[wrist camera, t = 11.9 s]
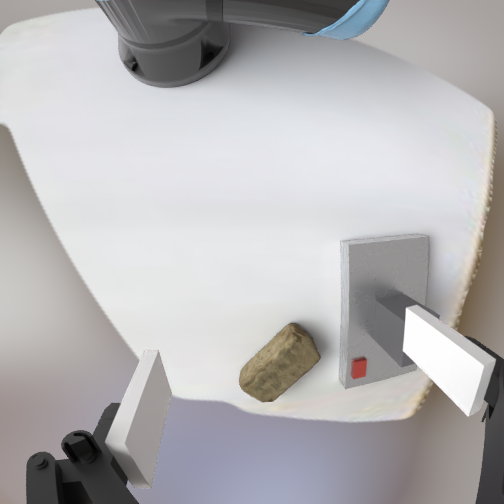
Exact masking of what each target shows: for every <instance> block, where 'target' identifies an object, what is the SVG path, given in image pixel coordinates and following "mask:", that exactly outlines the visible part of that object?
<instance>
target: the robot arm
mask: <svg viewBox="0 0 504 504" xmlns="http://www.w3.org/2000/svg"><path fill="white" fill-rule="evenodd" d="M95 1H96V2H97V3H98V5H99V6H100V8H101V9H102V11H103V12H104V13H105V15H106V16H107V18H108V19H109V20H110V22H111V23H112V25H113V26H114V27H115V29H116V30H117V31H118V49H119V55H120V58H121V61H122V63H123V64H124V66H125V67H126V69H127V70H128V71H129V72H130V74H131V75H132V76H133V77H135V78H136V79H137V80H139V81H141V82H143V83H145V84H147V85H151V86H155V87H177V86H182V85H186V84H189V83H192V82H194V81H197V80H199V79H201V78H202V77H204V76H206V75H207V74H209V73H210V72H211V71H212V70H213V69H215V68H216V67H217V66H218V64H219V63H220V62H221V61H222V59H223V58H224V56H225V54H226V52H227V50H228V47H229V42H230V25H229V23H233V24H244V25H254V26H262V27H270V28H276V29H283V30H289V31H295V32H300V33H302V34H303V35H306V36H322V37H328V38H333V39H338V40H346V39H349V38H353V37H357V36H359V35H361V34H362V33H364V32H365V31H366V30H368V29H369V28H370V27H371V26H372V25H373V24H374V23H375V22H376V21H377V19H378V18H379V17H380V15H381V14H382V13H383V11H384V9H385V8H386V6H387V4H388V2H389V0H95ZM403 351H404V352H405V353H406V354H407V355H408V356H409V357H410V358H411V359H412V360H413V361H414V362H415V363H416V364H417V365H418V366H419V367H420V368H421V369H422V370H423V371H424V372H425V373H426V374H427V375H428V376H429V377H430V378H431V379H432V380H433V381H434V382H435V383H436V384H437V385H438V386H439V387H440V388H441V389H442V390H443V391H444V392H445V393H446V394H447V395H448V396H449V397H450V398H451V399H452V400H453V402H454V403H455V404H456V405H457V406H458V407H460V409H461V410H462V411H463V412H464V413H465V414H466V415H467V416H470V415H472V414H474V413H476V412H477V411H479V410H480V409H481V406H482V403H483V400H485V401H486V402H487V403H488V405H487V408H486V411H485V413H484V416H483V418H482V422H484V419H485V418H486V426H485V441H484V451H483V461H482V469H481V476H480V482H479V488H478V493H477V499H476V504H504V359H502V358H501V357H500V356H498V355H497V354H496V353H494V352H493V351H491V350H490V349H489V348H486V346H484V345H483V344H481V343H480V342H478V341H477V340H476V339H473V338H471V337H468V336H462V335H461V334H459V333H458V332H457V331H455V330H454V329H452V328H451V327H449V326H448V325H446V324H445V323H444V322H442V321H441V320H439V319H438V318H436V317H435V316H433V315H432V314H430V313H429V312H427V311H426V310H424V309H423V308H421V307H420V306H418V305H414V306H411V307H407V308H406V317H405V331H404V343H403ZM171 394H172V392H171V389H170V386H169V383H168V380H167V377H166V373H165V370H164V367H163V364H162V360H161V357H160V354H159V350H153V351H144V353H143V355H142V357H141V360H140V362H139V364H138V366H137V369H136V371H135V373H134V375H133V378H132V380H131V382H130V384H129V386H128V389H127V391H126V393H125V395H124V398H123V400H122V402H121V403H111V404H110V405H109V406H108V407H107V408H106V409H105V410H104V412H103V414H102V416H101V419H100V420H99V422H98V426H97V427H96V429H95V431H94V433H93V435H92V434H91V433H89V432H87V431H84V430H78V431H74V432H71V433H70V434H68V435H67V436H66V437H65V438H64V439H63V441H62V443H61V446H62V449H63V451H64V452H65V454H66V455H67V457H68V458H69V459H64V460H55V458H54V457H53V456H52V455H51V454H50V453H47V452H39V453H36V454H34V455H32V456H31V457H30V458H29V460H28V462H27V471H26V492H27V493H26V496H27V504H139V503H138V502H137V500H136V499H135V498H134V497H133V495H132V494H131V493H130V491H129V490H128V489H127V487H126V484H127V481H128V480H129V482H130V483H131V485H132V486H133V487H136V488H152V483H153V478H154V472H155V468H156V463H157V458H158V453H159V448H160V444H161V439H162V434H163V429H164V425H165V421H166V416H167V412H168V407H169V403H170V398H171Z"/></svg>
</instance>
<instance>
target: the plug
mask: <svg viewBox="0 0 504 504" xmlns="http://www.w3.org/2000/svg"><path fill="white" fill-rule="evenodd" d="M414 305H418V306H420V307H421V308H423V309H424V310H426V311H427V312H429V313H430V314H432V315H433V316H435V317H436V318H438V319H439V316H440V315H438V314H437V313H435V312H434V311H432V310H430V309H429V308H427V307H425V306H424V305H422V304H420V303H419V302H417V301H415V300H414V299H412V298H410V297H409V296H407V295H400V296H395V297H389V298H384V299H378V300H375V319H374V334H373V339H374V340H375V341H376V342H377V343H378V344H379V345H380V346H381V347H382V348H383V349H384V350H385V351H386V352H387V353H388V355H389V356H390V357H391V358H392V359H393V360H394V361H395V362H396V363H397V364H398V365H399V366H400V367H401V368H402V367H405V366H408V365H412V364H415V362H414V361H413V360H412V359H411V358H410V357H409V356H408V355H407V354H406V353H405V352H404V351H403V343H404V331H405V317H406V308H407V307H411V306H414Z"/></svg>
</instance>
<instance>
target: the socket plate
mask: <svg viewBox="0 0 504 504" xmlns="http://www.w3.org/2000/svg"><path fill="white" fill-rule="evenodd" d="M340 248H341V344H340V368H339V380H340V382H341V383H342V385H343V387H344V388H345V389H347V388H352V387H356V386H360V385H365V384H369V383H373V382H376V381H380V380H384V379H388V378H391V377H395V376H398V375H402V374H405V373H408V372H412V371H415V370H416V369H417V364H416V363H415V364H412V365H408V366H405V367H402V368H401V367H400V366H399V365H398V364H397V363H396V362H395V361H394V360H393V359H392V358H391V357H390V356H389V355H388V353H387V352H386V351H385V350H384V349H383V348H382V347H381V346H380V345H379V344H378V343H377V342H376V341H375V340H374V339H373V334H374V319H375V300H378V299H384V298H389V297H395V296H400V295H407V296H409V297H410V298H412V299H414V300H415V301H417V302H419V303H420V304H422V305H424V306H425V303H426V292H427V278H428V256H429V236H425V235H421V234H410V235H400V236H389V237H379V238H369V239H358V240H348V241H340Z"/></svg>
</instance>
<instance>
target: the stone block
mask: <svg viewBox="0 0 504 504" xmlns="http://www.w3.org/2000/svg"><path fill="white" fill-rule="evenodd" d="M320 358H321V357H320V354H319V352H318V351H317V348H316V346H315V343H314V341H313V338H312V337H310V336H309V335H308V334H307V333H306V332H305V331H303V330H302V329H301V328H299V326H298V325H296V324H294V323H290V324H288V325H287V326H285V327H284V328H283V329H282V330H281V331H280V332H279V333H278V334H277V335H276V336H275V337H274V338H273V339H272V340H271V341H270V342H269V343H268V344H267V345H266V346H264V347H263V348H262V349H261V350H260V351H259V352H258V353H257V354H256V355H255V356H254V357H253V358H252V359H251V360H250V361H249V362H248V363H247V364H246V365H245V366H244V367H243V368H242V370H241V373H240V378H239V385H240V387H241V389H242V390H243V391H244V392H245V393H247V394H249V395H250V396H251V397H254V398H256V399H257V400H259V401H261V402H273V401H274V400H276V399H277V398H278V397H279V396H280V395H281V394H282V393H284V392H285V391H286V390H287V389H288V388H289V387H290V386H291V385H293V384H294V383H295V382H296V381H297V380H298V379H299V378H300V377H302V376H303V375H304V374H306V373H307V372H308V371H309V370H311V368H312V367H313V366H314V365H315V364H316V363H318V361H319V360H320Z"/></svg>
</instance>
